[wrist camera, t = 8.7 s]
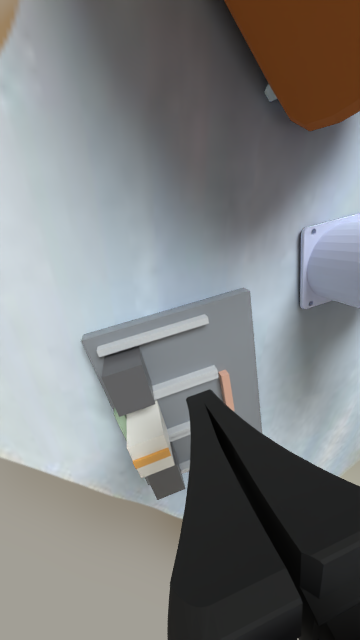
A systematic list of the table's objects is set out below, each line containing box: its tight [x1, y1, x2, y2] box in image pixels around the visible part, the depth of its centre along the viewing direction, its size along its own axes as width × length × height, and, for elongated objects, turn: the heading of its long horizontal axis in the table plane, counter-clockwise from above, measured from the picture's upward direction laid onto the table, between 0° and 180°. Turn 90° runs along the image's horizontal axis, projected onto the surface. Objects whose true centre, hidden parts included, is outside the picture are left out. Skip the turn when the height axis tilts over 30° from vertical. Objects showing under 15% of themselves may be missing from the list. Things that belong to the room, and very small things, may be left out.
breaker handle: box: [126, 400, 175, 478], centre depth 19 cm, size 3×4×4 cm
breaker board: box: [81, 288, 262, 500], centre depth 21 cm, size 15×20×4 cm
